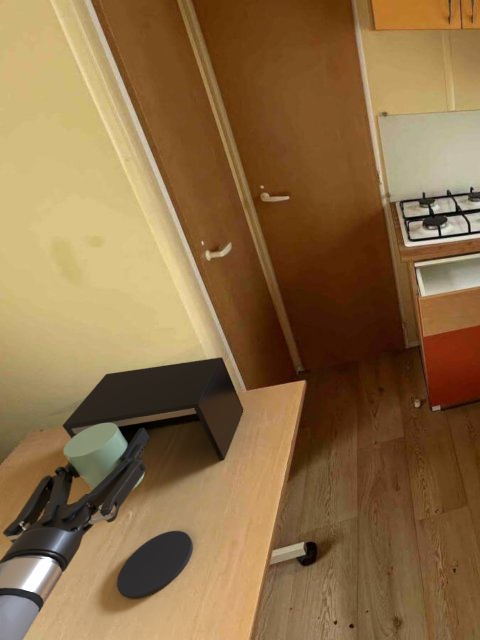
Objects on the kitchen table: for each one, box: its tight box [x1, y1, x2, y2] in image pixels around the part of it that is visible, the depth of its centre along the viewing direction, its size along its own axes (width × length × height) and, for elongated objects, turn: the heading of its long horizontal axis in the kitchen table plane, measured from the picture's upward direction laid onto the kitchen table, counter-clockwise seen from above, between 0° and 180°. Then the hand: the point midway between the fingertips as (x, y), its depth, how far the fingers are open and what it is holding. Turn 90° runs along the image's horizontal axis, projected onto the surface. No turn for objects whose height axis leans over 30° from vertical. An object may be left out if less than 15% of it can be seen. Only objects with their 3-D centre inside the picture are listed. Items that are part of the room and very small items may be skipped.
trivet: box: [116, 530, 194, 600], centre depth 78 cm, size 11×11×1 cm
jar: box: [62, 423, 146, 492], centre depth 75 cm, size 7×7×12 cm
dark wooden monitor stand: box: [62, 356, 245, 461], centre depth 97 cm, size 15×24×18 cm, turn 104°
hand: (120, 437), depth 79 cm, fingers closed on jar, 7 cm apart
